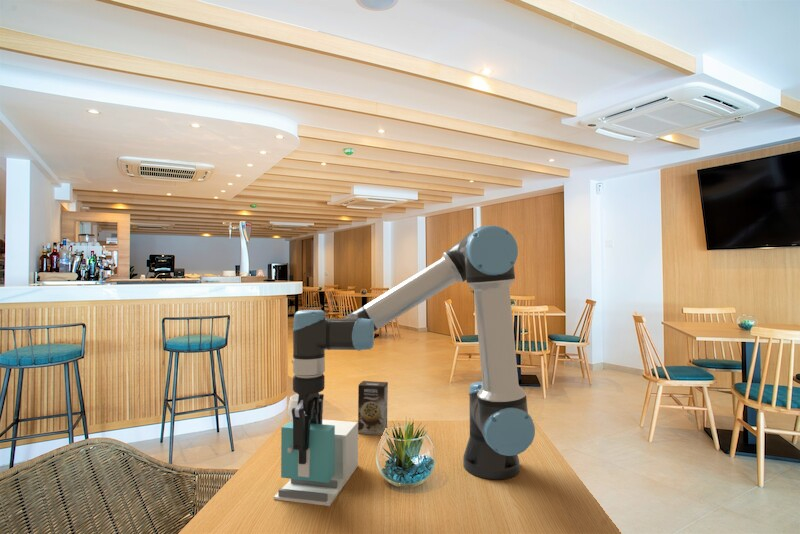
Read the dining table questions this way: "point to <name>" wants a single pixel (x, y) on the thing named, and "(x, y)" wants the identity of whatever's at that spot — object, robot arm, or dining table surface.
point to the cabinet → (343, 470)
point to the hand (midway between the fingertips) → (308, 471)
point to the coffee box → (372, 407)
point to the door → (319, 453)
